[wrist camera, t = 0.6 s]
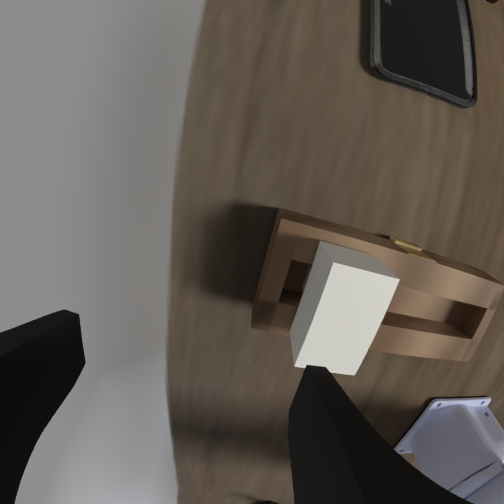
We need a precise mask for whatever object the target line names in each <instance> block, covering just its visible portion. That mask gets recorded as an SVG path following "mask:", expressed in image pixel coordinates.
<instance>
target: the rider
mask: <svg viewBox="0 0 504 504" xmlns="http://www.w3.org/2000/svg"><path fill="white" fill-rule="evenodd" d="M399 280H400V279H399V278H398V277H397V276H396V275H395V274H394V273H393V272H392V271H391V270H390V269H389V268H388V267H387V266H386V265H385V264H384V263H383V262H382V261H381V260H380V259H379V258H377V257H376V256H374V255H370V254H366V253H363V252H359V251H356V250H352V249H348V248H345V247H341V246H337V245H333V244H330V243H326V242H322V241H320V243H319V246H318V249H317V252H316V256H315V259H314V262H313V265H312V264H309V266H308V269H307V272H306V275H305V278H304V281H303V284H302V291H303V295H302V298H301V301H300V304H299V307H298V310H297V312H296V315H295V318H294V321H293V324H292V326H291V329H290V336H291V344H292V352H293V361H294V366H295V367H301V368H306V365H313V366H322V367H326V368H327V369H328V370H329V371H330V372H332V373H340V374H347V375H355V374H356V372H357V370H358V368H359V366H360V364H361V363H362V361H363V359H364V357H365V355H366V353H367V351H368V349H369V347H370V345H371V343H372V341H373V339H374V337H375V335H376V333H377V331H378V328H379V326H380V324H381V322H382V320H383V318H384V315H385V313H386V311H387V309H388V306H389V304H390V302H391V299H392V297H393V295H394V292H395V290H396V288H397V285H398V283H399Z"/></svg>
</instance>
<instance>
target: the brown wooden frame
mask: <svg viewBox="0 0 504 504" xmlns="http://www.w3.org/2000/svg"><path fill="white" fill-rule="evenodd" d="M320 241H322V242H326V243H330V244H333V245H337V246H341V247H345V248H348V249H352V250H356V251H359V252H363V253H366V254H370V255H374V256H376V257H377V258H379V259H380V260H381V261H382V262H383V263H384V264H385V265H386V266H387V267H388V268H389V269H390V270H391V271H392V272H393V273H394V274H395V275H396V276H397V277H398V278H399V279H400V280H399V283H398V285H397V288H396V290H395V292H394V295H393V297H392V299H391V302H390V304H389V306H388V309H387V311H386V313H385V315H384V318H383V320H382V322H381V324H380V326H379V328H378V331H377V333H376V335H375V337H374V339H373V341H372V343H371V345H370V347H369V349H368V350H372V351H378V352H385V353H393V354H400V355H408V356H416V357H425V358H435V359H445V360H456V361H469V359H470V358H471V356H472V354H473V352H474V351H475V349H476V347H477V345H478V344H479V342H480V340H481V338H482V336H483V334H484V332H485V330H486V329H487V327H488V325H489V323H490V321H491V319H492V316H493V314H494V312H495V310H496V308H497V306H498V304H499V301H500V299H501V297H502V295H503V292H504V285H503V284H502V283H500V282H499V281H497V280H496V279H494V278H493V277H491V276H490V275H488V274H487V273H485V272H484V271H482V270H479V269H476V268H473V267H471V266H468V265H465V264H462V263H459V262H456V261H453V260H451V259H448V258H445V257H442V256H439V255H436V254H433V253H430V252H427V251H424V250H422V249H421V248H420V247H418V246H417V245H415V244H412V243H409V242H406V241H403V240H400V239H396V238H393V237H390V238H389V239H386V238H383V237H379V236H376V235H373V234H369V233H366V232H363V231H359V230H356V229H352V228H349V227H346V226H342V225H339V224H335V223H332V222H328V221H324V220H321V219H317V218H314V217H310V216H306V215H302V214H299V213H295V212H291V211H287V210H284V209H280V208H279V209H278V212H277V216H276V220H275V224H274V227H273V231H272V235H271V238H270V242H269V246H268V250H267V253H266V257H265V261H264V264H263V268H262V271H261V275H260V279H259V282H258V286H257V290H256V293H255V297H254V300H253V307H252V318H251V328H255V329H259V330H264V331H268V332H273V333H278V334H282V335H287V336H290V329H291V326H292V324H293V321H294V318H295V315H296V312H297V310H298V307H299V304H300V301H301V298H302V295H303V291H302V284H303V281H304V278H305V275H306V272H307V269H308V266H309V264H312V265H313V262H314V259H315V256H316V252H317V249H318V246H319V243H320Z"/></svg>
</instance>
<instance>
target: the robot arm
mask: <svg viewBox="0 0 504 504" xmlns="http://www.w3.org/2000/svg"><path fill="white" fill-rule="evenodd" d="M81 336H82V335H81V327H80V318H79V314H76V313H73V312H70V311H68V310H61V311H57V312H55V313H51V314H49V315H46V316H43V317H41V318H38V319H36V320H33V321H30V322H28V323H25V324H23V325H20V326H17V327H15V328H12V329H10V330H7V331H4V332H1V333H0V504H14V503H15V498H16V495H17V491H18V488H19V485H20V481H21V478H22V476H23V473H24V470H25V468H26V465H27V463H28V460H29V458H30V456H31V453H32V451H33V449H34V447H35V444H36V443H37V441H38V439H39V437H40V435H41V433H42V432H43V430H44V428H45V427H46V426H47V424H48V423H49V421H50V420H51V418H52V417H53V415H54V414H55V413H56V411H57V410H58V408H59V407H60V405H61V404H62V402H63V401H64V400H65V398H66V396H67V395H68V394H69V392H70V391H71V389H72V388H73V387H74V385H75V383H76V381H77V379H78V377H79V375H80V373H81V371H82V369H83V367H84V365H85V363H86V362H85V356H84V349H83V343H82V337H81ZM490 401H491V398H490V397H478V398H453V399H434V400H432V401H431V402H430V404H429V405H428V407H427V408H426V409H425V411H424V412H423V413H422V415H421V416H420V417H419V419H418V420H417V421H416V422H415V424H414V425H413V426H412V427H411V429H410V430H409V431H408V432H407V434H406V435H405V436H404V437H403V438H402V440H401V441H400V442H399V443H398V444H397V445H396V447H395V448H394V449H393V448H392V447H391V446H390V445H389V444H388V443H387V442H386V441H385V440H384V439H383V438H382V437H381V436H380V435H379V433H378V432H377V431H376V430H375V429H374V428H373V427H372V426H371V425H370V423H369V422H368V421H367V420H366V419H365V418H364V416H363V415H362V414H361V413H360V411H359V410H358V409H357V408H356V406H355V405H354V404H353V402H352V401H351V400H350V399H349V397H348V396H347V395H346V393H345V392H344V391H343V389H342V388H341V386H340V385H339V384H338V382H337V381H336V380H335V378H334V377H333V376H332V374H331V373H330V371H329V370H328V369H327V368H326V367H322V366H313V365H306V368H305V370H304V373H303V376H302V378H301V381H300V384H299V386H298V389H297V391H296V394H295V397H294V399H293V402H292V404H291V407H290V409H289V428H288V440H289V450H290V460H291V470H292V479H293V489H294V504H504V431H503V429H502V428H501V426H500V425H499V423H498V422H497V420H496V419H495V417H494V416H493V414H492V413H491V411H490V410H489V408H488V407H487V405H488V404H489V403H490ZM412 452H413V455H414V457H415V460H416V462H417V465H418V468H419V470H420V471H419V470H417V469H416V468H415V467H413V466H412V465H411V464H410V463H409V462H407V461H406V460H405V459H404V458H403V457H402V456H401V455H400V453H412Z"/></svg>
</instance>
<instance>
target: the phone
mask: <svg viewBox="0 0 504 504" xmlns="http://www.w3.org/2000/svg"><path fill="white" fill-rule="evenodd" d="M370 8H371V32H370V66H371V68H372V70H373V72H374V73H375V74H376V76H377V77H379V78H380V79H381V80H383V81H386V82H388V83H392V84H395V85H398V86H402V87H405V88H408V89H411V90H414V91H417V92H420V93H422V94H425V95H428V96H431V97H433V98H436V99H439V100H441V101H444V102H446V103H449V104H451V105H453V106H456V107H458V108H462V109H463V108H469V107H473V106H474V105H475V103H476V101H477V68H476V54H475V43H474V34H473V27H472V20H471V13H470V8H469V2H468V0H370ZM397 83H398V84H397Z"/></svg>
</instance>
